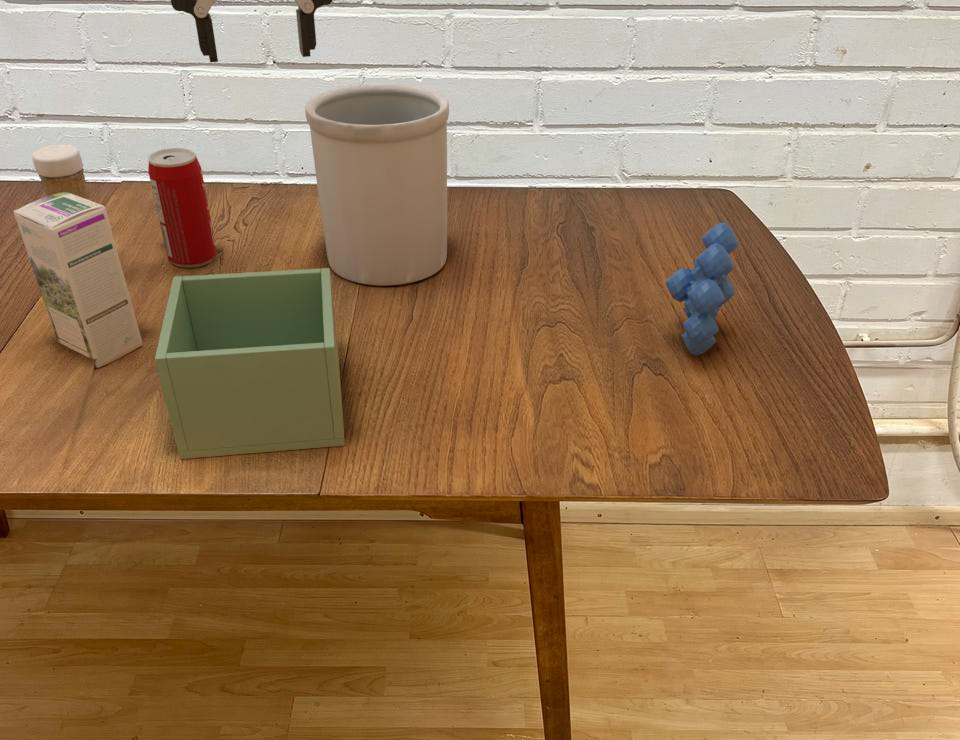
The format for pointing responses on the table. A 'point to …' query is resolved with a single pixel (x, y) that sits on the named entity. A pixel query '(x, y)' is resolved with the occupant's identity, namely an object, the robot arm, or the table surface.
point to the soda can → (182, 207)
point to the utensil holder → (381, 180)
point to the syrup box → (80, 275)
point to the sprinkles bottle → (61, 170)
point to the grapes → (705, 288)
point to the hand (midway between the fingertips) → (259, 57)
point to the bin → (251, 363)
